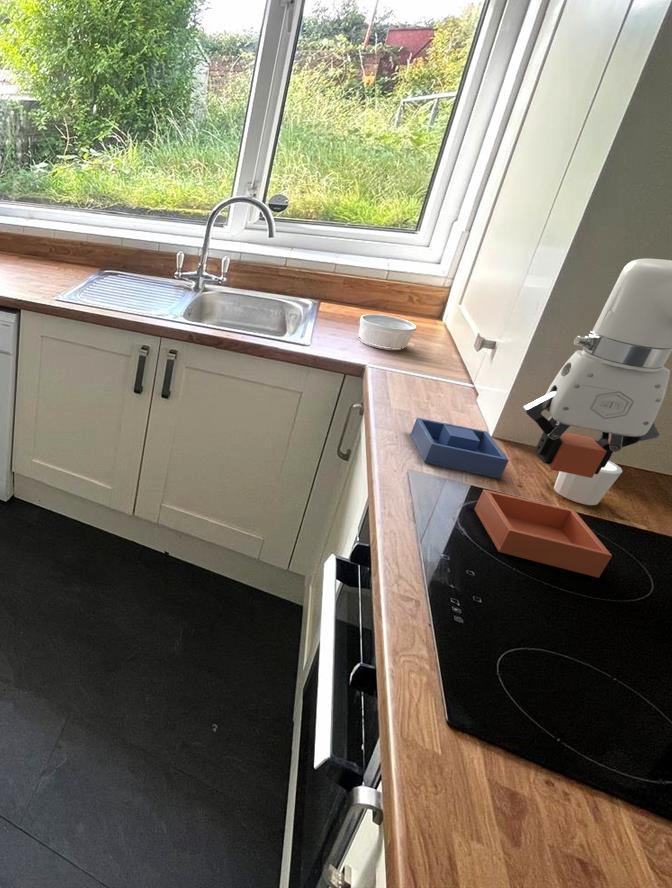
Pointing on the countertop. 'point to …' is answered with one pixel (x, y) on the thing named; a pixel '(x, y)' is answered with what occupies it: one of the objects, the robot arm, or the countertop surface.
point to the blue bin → (458, 450)
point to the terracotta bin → (541, 533)
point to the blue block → (458, 438)
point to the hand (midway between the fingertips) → (566, 463)
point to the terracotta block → (577, 455)
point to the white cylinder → (587, 484)
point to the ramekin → (385, 331)
